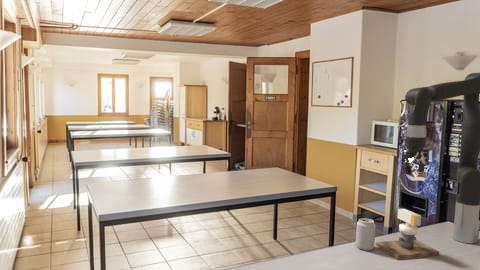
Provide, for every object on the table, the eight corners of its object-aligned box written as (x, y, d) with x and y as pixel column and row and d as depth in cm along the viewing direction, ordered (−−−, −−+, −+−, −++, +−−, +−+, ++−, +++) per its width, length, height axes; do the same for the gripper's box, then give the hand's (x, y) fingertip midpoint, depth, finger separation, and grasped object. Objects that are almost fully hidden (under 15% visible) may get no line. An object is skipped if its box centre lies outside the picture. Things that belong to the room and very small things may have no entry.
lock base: (414, 242, 167) (416, 225, 166) (439, 255, 154) (440, 237, 153) (375, 245, 162) (376, 228, 161) (397, 259, 148) (398, 240, 148)
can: (370, 244, 163) (371, 217, 162) (376, 251, 156) (378, 223, 155) (352, 244, 163) (354, 217, 162) (359, 251, 156) (360, 222, 154)
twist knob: (392, 228, 161) (394, 209, 160) (406, 227, 163) (408, 208, 162) (409, 237, 151) (410, 216, 150) (423, 235, 153) (425, 215, 152)
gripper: (419, 134, 167) (417, 170, 168) (397, 135, 160) (396, 173, 161) (435, 135, 160) (433, 173, 162) (413, 137, 153) (411, 176, 155)
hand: (414, 173), depth 161 cm, fingers open, 8 cm apart
